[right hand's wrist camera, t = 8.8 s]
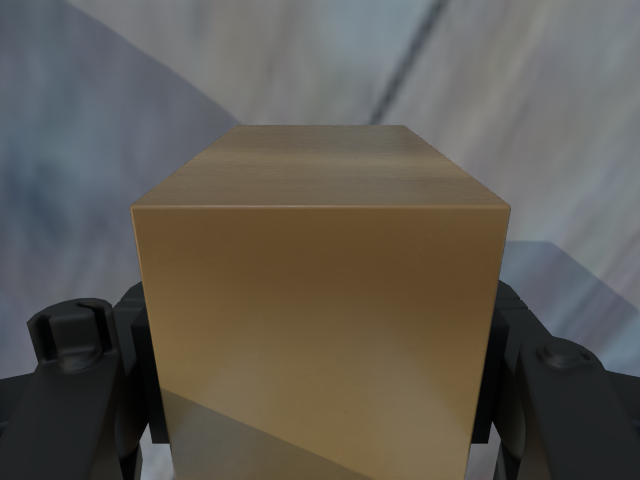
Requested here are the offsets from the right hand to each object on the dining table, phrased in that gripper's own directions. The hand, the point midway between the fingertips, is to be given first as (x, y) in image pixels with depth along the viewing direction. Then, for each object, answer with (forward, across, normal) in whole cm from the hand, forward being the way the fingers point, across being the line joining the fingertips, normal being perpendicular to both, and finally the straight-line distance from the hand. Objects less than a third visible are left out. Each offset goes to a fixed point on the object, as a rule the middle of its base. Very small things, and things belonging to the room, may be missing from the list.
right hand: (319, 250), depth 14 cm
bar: (+1, 0, -8) cm, 8 cm away
